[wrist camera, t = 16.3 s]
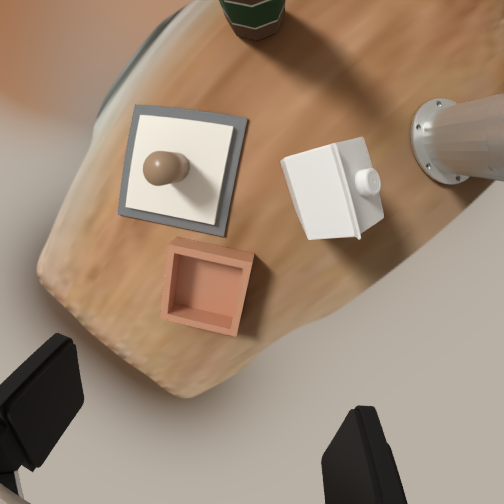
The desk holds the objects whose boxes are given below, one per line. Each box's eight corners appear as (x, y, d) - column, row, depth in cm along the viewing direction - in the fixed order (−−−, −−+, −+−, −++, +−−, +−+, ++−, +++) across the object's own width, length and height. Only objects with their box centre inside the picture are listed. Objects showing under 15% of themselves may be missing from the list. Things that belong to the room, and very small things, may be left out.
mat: (247, 118, 37) (247, 118, 37) (224, 235, 42) (223, 236, 41) (136, 105, 37) (135, 104, 37) (118, 213, 42) (117, 214, 41)
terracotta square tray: (254, 253, 42) (252, 262, 38) (239, 322, 45) (236, 336, 41) (177, 236, 42) (167, 244, 38) (168, 305, 45) (160, 318, 41)
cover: (233, 127, 37) (225, 119, 31) (215, 223, 41) (203, 235, 34) (142, 115, 37) (119, 108, 31) (127, 206, 41) (104, 214, 34)
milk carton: (295, 212, 40) (313, 253, 22) (279, 160, 38) (285, 156, 20) (346, 197, 39) (402, 226, 21) (331, 146, 37) (379, 132, 19)
